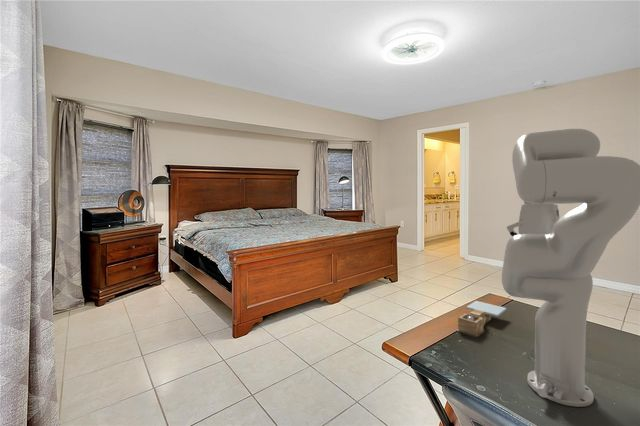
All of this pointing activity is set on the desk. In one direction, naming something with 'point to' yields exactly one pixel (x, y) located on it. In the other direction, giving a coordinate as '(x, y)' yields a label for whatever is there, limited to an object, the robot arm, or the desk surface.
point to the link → (473, 322)
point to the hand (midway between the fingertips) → (538, 254)
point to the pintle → (468, 333)
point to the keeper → (487, 308)
